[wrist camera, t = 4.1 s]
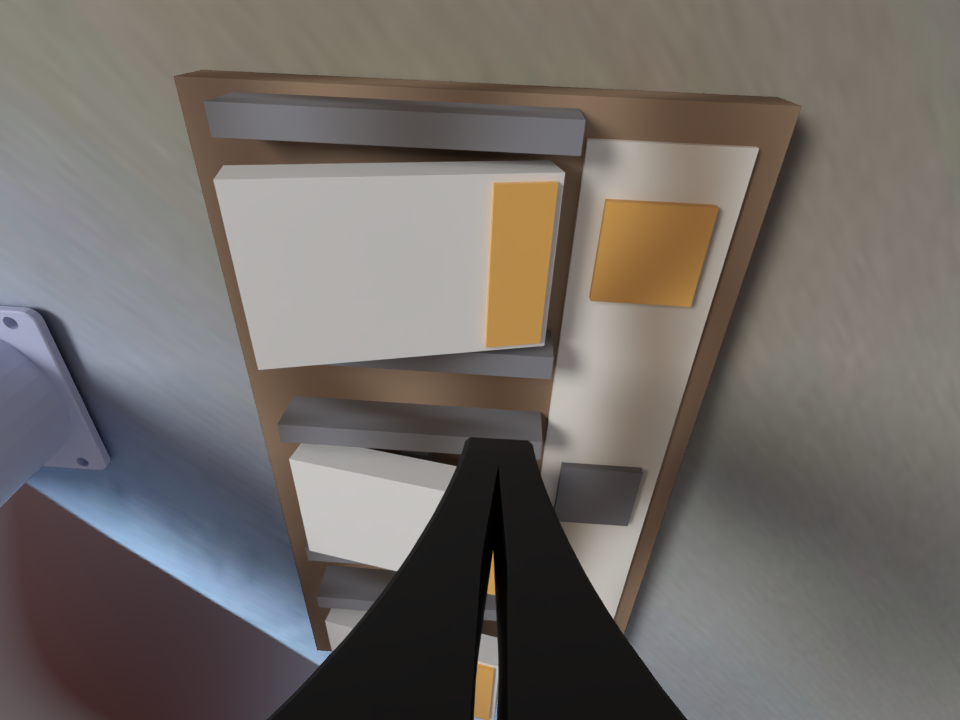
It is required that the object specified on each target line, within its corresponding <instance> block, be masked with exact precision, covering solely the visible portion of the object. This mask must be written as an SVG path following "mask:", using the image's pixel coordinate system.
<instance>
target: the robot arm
mask: <svg viewBox="0 0 960 720" xmlns="http://www.w3.org/2000/svg"><path fill="white" fill-rule="evenodd" d="M14 320H15V321H14ZM109 463H110V457H109V455H108V453H107V451H106V449H105V447H104V445H103V442H102V440H101V438H100V436H99V434H98V432H97V430H96V428H95V426H94V424H93V421H92V419H91V417H90V415H89V413H88V411H87V409H86V407H85V405H84V403H83V400H82V398H81V396H80V394H79V392H78V390H77V388H76V386H75V384H74V382H73V379H72V377H71V375H70V373H69V371H68V369H67V367H66V365H65V363H64V361H63V358H62V356H61V354H60V352H59V350H58V348H57V346H56V344H55V342H54V340H53V337H52V335H51V333H50V331H49V329H48V327H47V325H46V323H45V321H44V319H43V317H42V316H41V315H40V314H39V313H38V312H37V311H35V310H33V309H30V308H26V307H11V306H0V507H1V506H2V505H3V504H4V503H5V502H6V501H7V500H8V499H9V498H10V497H11V496H12V495H13V494H14V493H15V492H16V491H17V490H18V489H19V488H20V487H21V486H22V485H23V484H24V483H25V482H26V481H27V480H29V479H30V478H31V477H32V476H33V475H34V474H35V473H36V472H37V471H38V470H39V469H40V468H41V467H42V466H45V467H59V468H73V469H88V470H103V469H105V468H106V467H107V466H108V465H109ZM492 555H493V558H494V579H495V600H496V621H497V641H498V710H497V720H687V719H686V718H685V716H684V715H683V714H682V713H681V711H680V710H679V709H678V707H677V706H676V705H675V704H674V702H673V701H672V700H671V699H670V697H669V696H668V695H667V694H666V692H665V691H664V690H663V689H662V687H661V686H660V684H659V683H658V682H657V680H656V679H655V678H654V676H653V675H652V673H651V672H650V671H649V669H648V668H647V667H646V665H645V664H644V662H643V661H642V660H641V658H640V657H639V656H638V654H637V653H636V651H635V650H634V649H633V647H632V646H631V644H630V643H629V642H628V640H627V639H626V637H625V636H624V635H623V633H622V632H621V630H620V628H619V627H618V625H617V624H616V622H615V621H614V619H613V618H612V616H611V615H610V613H609V612H608V610H607V608H606V607H605V605H604V604H603V602H602V600H601V599H600V597H599V595H598V594H597V592H596V590H595V589H594V587H593V585H592V584H591V582H590V580H589V578H588V577H587V575H586V573H585V571H584V569H583V568H582V566H581V564H580V562H579V560H578V558H577V556H576V554H575V552H574V550H573V548H572V547H571V545H570V543H569V541H568V539H567V536H566V534H565V532H564V530H563V528H562V526H561V524H560V521H559V519H558V517H557V515H556V512H555V510H554V508H553V505H552V503H551V501H550V498H549V496H548V493H547V491H546V488H545V485H544V482H543V480H542V477H541V474H540V471H539V468H538V464H537V461H536V457H535V453H534V448H533V444H531V443H530V442H529V441H528V440H513V439H495V438H478V437H470V438H468V439H467V440H466V441H465V443H464V447H463V451H462V453H461V456H460V459H459V462H458V464H457V467H456V469H455V472H454V474H453V476H452V478H451V480H450V483H449V485H448V487H447V489H446V491H445V493H444V495H443V496H442V498H441V500H440V502H439V504H438V506H437V508H436V510H435V512H434V514H433V515H432V517H431V519H430V521H429V522H428V524H427V526H426V527H425V529H424V530H423V532H422V534H421V535H420V537H419V539H418V540H417V542H416V544H415V545H414V547H413V549H412V550H411V552H410V553H409V555H408V556H407V558H406V559H405V561H404V562H403V564H402V565H401V567H400V568H399V569H398V571H397V572H396V574H395V575H394V576H393V578H392V579H391V581H390V582H389V583H388V585H387V586H386V588H385V589H384V590H383V592H382V593H381V594H380V595H379V597H378V598H377V599H376V601H375V602H374V603H373V604H372V606H371V607H370V608H369V609H368V611H367V612H366V613H365V614H364V616H363V617H362V618H361V620H360V621H359V622H358V623H357V624H356V626H355V627H354V628H353V629H352V630H351V632H350V633H349V634H348V635H347V636H346V637H345V639H344V640H343V641H342V642H341V643H340V644H339V645H338V646H337V647H336V649H335V650H334V651H333V652H332V653H331V654H330V655H329V656H328V657H327V658H326V660H325V661H324V662H323V663H322V664H321V665H320V666H319V667H318V668H317V670H316V671H315V672H314V673H313V674H312V675H311V676H310V677H309V678H308V679H307V680H306V681H305V682H304V684H303V685H302V686H301V687H300V688H299V689H298V690H297V691H296V692H295V693H294V694H293V695H292V696H291V697H290V698H289V699H288V700H287V701H286V702H285V703H284V704H282V706H280V707H279V708H278V709H277V710H276V711H275V712H274V713H273V714H272V715H271V716H270V717H269V718H268V719H267V720H474V706H475V689H476V675H477V665H478V656H479V648H480V641H481V634H482V627H483V620H484V613H485V605H486V598H487V591H488V584H489V577H490V570H491V563H492Z"/></svg>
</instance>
